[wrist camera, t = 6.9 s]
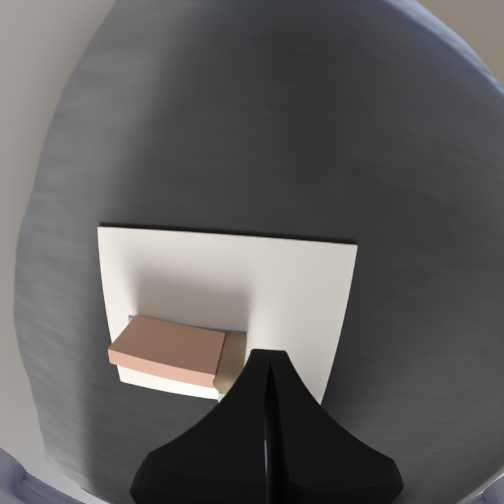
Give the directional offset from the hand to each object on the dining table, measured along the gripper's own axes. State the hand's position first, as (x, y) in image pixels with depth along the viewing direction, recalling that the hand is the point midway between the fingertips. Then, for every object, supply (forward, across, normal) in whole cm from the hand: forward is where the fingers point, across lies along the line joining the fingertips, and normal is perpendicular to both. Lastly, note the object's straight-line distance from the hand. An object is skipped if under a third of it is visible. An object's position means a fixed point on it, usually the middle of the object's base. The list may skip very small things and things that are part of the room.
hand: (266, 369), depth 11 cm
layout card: (+10, +4, +4) cm, 11 cm away
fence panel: (+9, +6, +5) cm, 12 cm away
